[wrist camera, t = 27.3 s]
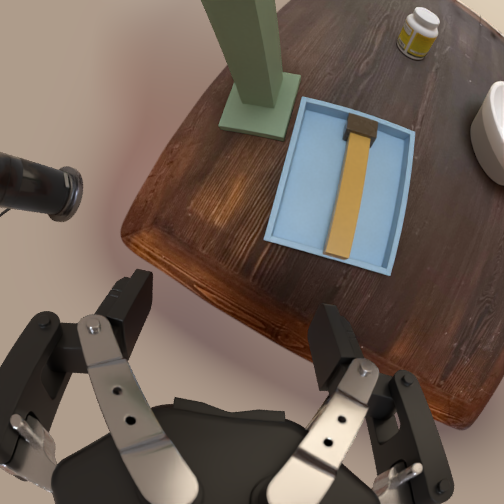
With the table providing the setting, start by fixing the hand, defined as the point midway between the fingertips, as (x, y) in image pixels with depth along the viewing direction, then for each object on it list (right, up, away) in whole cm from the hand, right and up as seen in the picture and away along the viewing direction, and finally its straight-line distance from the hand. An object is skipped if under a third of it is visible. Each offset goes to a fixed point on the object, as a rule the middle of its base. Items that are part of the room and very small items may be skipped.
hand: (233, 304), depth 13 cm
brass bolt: (+14, +11, +22) cm, 28 cm away
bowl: (+46, +22, +19) cm, 55 cm away
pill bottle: (+31, +41, +21) cm, 56 cm away
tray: (+14, +12, +24) cm, 30 cm away
